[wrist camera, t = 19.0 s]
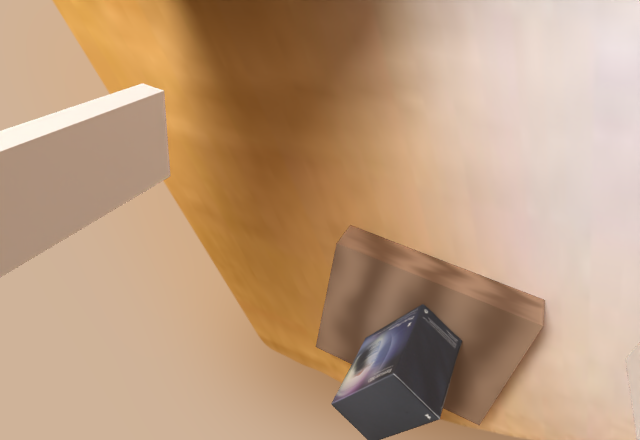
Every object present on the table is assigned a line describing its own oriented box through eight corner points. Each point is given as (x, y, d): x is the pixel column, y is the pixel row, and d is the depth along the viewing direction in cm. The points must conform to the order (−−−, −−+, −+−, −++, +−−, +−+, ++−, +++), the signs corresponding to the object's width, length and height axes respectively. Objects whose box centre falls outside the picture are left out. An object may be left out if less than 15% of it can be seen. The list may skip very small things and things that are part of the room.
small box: (421, 299, 47) (392, 372, 39) (465, 340, 48) (444, 421, 40) (362, 336, 54) (327, 404, 46) (400, 371, 54) (372, 446, 46)
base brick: (328, 326, 62) (315, 346, 59) (350, 225, 52) (336, 243, 49) (483, 398, 56) (479, 425, 53) (544, 300, 46) (543, 325, 43)
